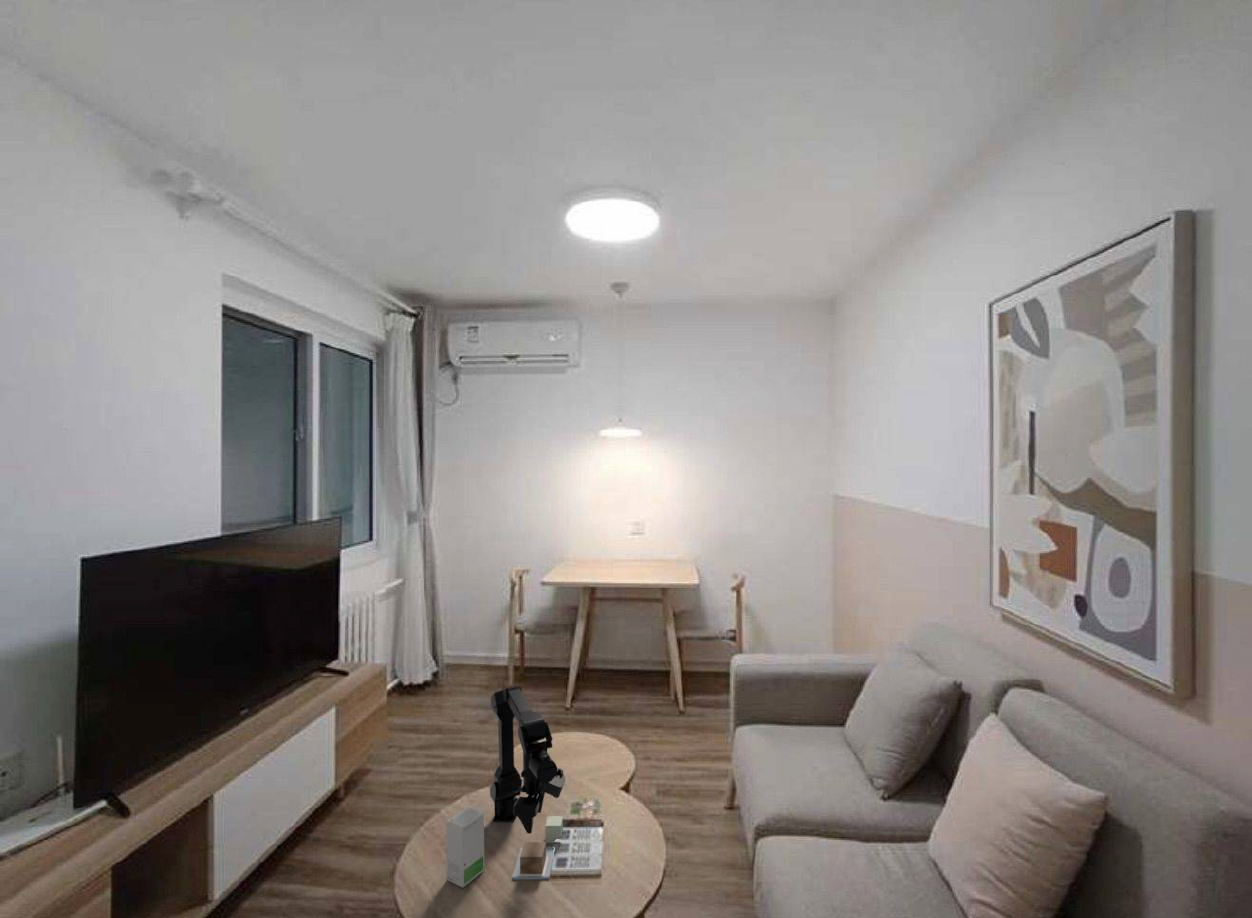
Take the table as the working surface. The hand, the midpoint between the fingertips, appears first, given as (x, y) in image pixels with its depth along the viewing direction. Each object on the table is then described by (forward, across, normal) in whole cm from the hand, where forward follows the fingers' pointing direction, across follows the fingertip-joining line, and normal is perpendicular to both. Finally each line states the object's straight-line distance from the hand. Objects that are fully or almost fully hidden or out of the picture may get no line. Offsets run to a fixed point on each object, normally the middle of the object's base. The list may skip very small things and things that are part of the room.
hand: (534, 822), depth 156 cm
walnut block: (+11, -1, 0) cm, 11 cm away
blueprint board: (+12, +1, 0) cm, 12 cm away
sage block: (+12, +12, -2) cm, 17 cm away
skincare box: (+12, -5, +18) cm, 22 cm away
